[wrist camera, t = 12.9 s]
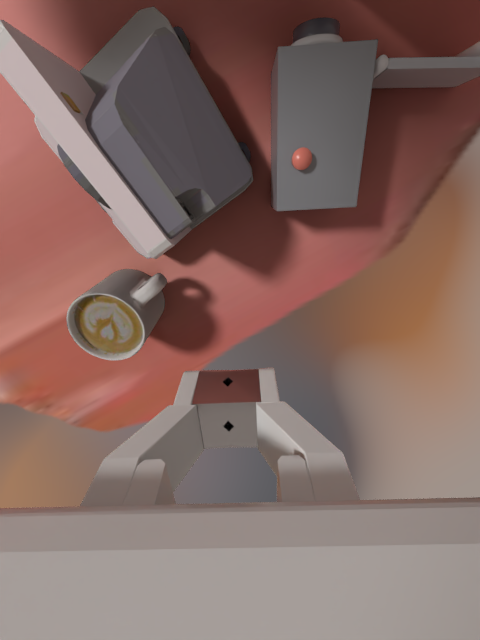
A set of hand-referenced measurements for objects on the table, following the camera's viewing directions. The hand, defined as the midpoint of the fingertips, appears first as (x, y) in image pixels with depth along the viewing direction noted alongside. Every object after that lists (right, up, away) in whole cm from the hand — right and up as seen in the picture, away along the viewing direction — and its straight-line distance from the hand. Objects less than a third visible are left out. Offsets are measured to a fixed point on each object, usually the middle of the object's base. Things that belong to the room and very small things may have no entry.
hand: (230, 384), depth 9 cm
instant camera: (-10, +24, +26) cm, 36 cm away
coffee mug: (-15, +6, +34) cm, 38 cm away
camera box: (+9, +24, +25) cm, 36 cm away
